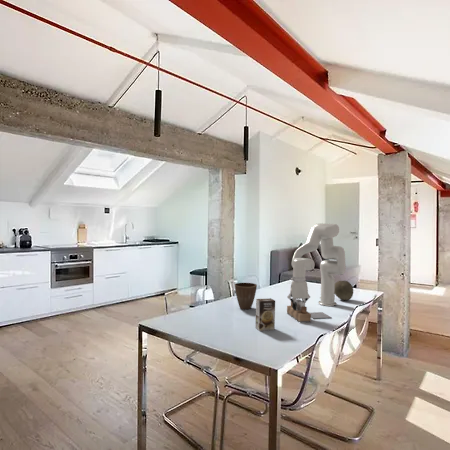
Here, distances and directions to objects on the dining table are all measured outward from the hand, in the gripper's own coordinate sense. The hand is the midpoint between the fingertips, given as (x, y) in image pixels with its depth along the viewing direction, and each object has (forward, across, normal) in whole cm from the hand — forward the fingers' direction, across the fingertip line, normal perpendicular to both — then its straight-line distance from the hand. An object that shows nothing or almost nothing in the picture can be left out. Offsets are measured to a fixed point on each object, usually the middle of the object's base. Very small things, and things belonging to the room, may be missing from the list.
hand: (298, 308), depth 210 cm
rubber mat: (+6, +14, +2) cm, 15 cm away
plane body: (+6, 0, 0) cm, 6 cm away
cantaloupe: (+6, +53, +40) cm, 66 cm away
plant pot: (+6, -27, +26) cm, 38 cm away
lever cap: (0, 0, 0) cm, 0 cm away
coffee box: (+6, -27, -18) cm, 33 cm away
